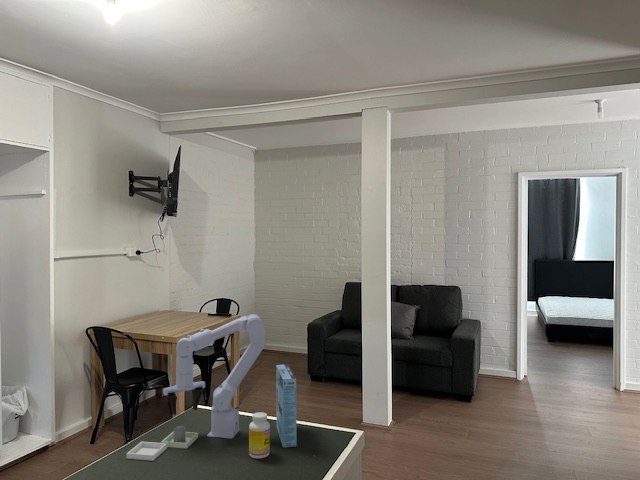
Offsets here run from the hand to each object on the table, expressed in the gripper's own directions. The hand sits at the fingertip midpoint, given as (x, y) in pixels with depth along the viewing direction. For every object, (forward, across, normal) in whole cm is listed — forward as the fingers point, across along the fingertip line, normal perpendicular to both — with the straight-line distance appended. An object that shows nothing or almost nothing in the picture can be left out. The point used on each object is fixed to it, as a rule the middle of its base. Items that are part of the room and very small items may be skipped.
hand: (184, 411), depth 168 cm
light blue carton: (+9, +29, -21) cm, 37 cm away
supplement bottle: (+9, +14, -28) cm, 33 cm away
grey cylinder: (+8, -4, -4) cm, 10 cm away
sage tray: (+9, -3, -4) cm, 10 cm away
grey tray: (+9, -15, -7) cm, 19 cm away
